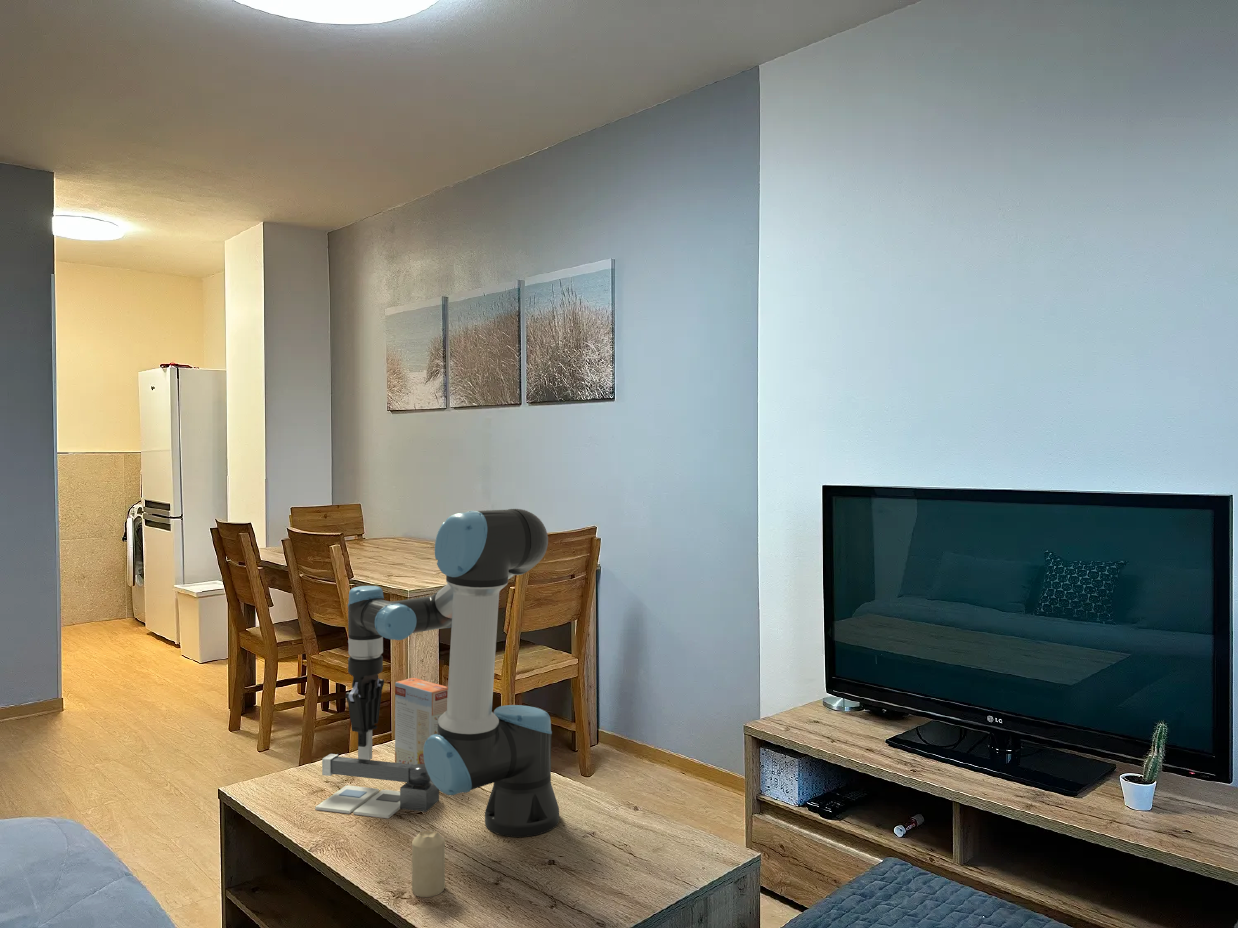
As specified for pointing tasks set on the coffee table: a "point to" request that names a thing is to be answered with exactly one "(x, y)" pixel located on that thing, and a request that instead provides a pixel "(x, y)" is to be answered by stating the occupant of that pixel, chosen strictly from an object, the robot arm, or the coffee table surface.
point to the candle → (428, 864)
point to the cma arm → (375, 769)
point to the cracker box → (416, 717)
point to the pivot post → (418, 796)
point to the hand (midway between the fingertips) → (365, 758)
